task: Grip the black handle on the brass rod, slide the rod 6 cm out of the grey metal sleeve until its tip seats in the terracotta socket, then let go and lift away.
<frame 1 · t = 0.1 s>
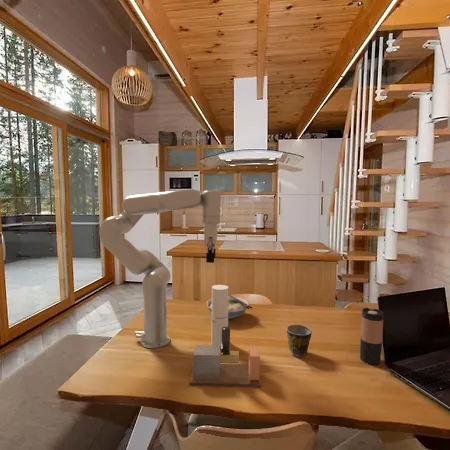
hand: (211, 260, 127), 37 cm above the table, tool pointing down, fingers open, 9 cm apart
ramen bowl: (227, 316, 160), on the table
cylindrical container: (219, 343, 130), on the table
slip tube: (217, 344, 105), point 12 cm above the table, slide at 0.0 cm
sleeve: (225, 375, 106), on the table
ceramic cup: (297, 355, 122), on the table
travel mug: (369, 360, 118), on the table
socket: (253, 376, 106), resting on sleeve
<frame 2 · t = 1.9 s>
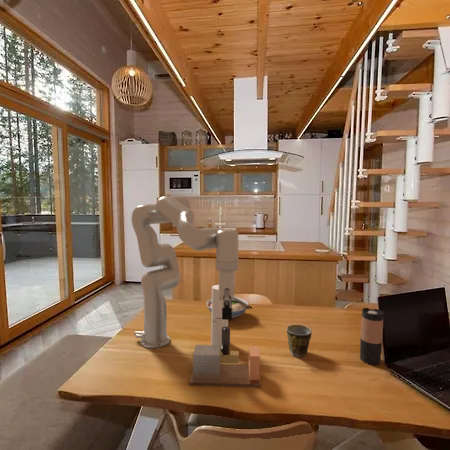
hand: (227, 313, 104), 23 cm above the table, tool pointing down, fingers open, 9 cm apart
nothing on the table moved.
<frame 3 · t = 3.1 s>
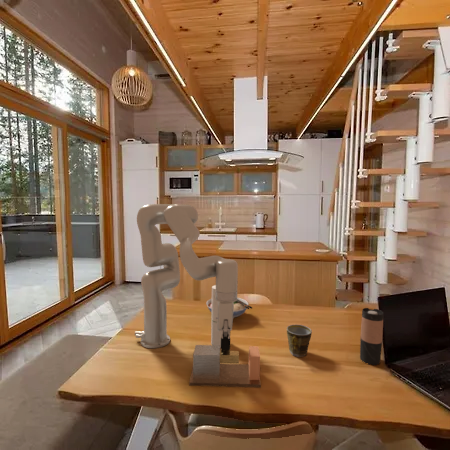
hand: (225, 342, 105), 12 cm above the table, tool pointing down, fingers open, 9 cm apart
nothing on the table moved.
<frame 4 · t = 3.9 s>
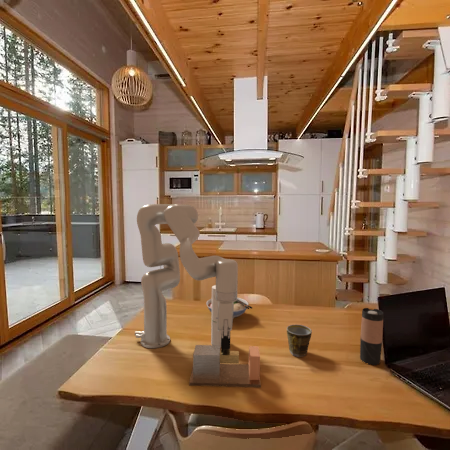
hand: (225, 345, 105), 11 cm above the table, tool pointing down, fingers closed on slip tube, 3 cm apart
slip tube: (217, 344, 105), point 12 cm above the table, slide at 0.0 cm, touching gripper
everything else where it was.
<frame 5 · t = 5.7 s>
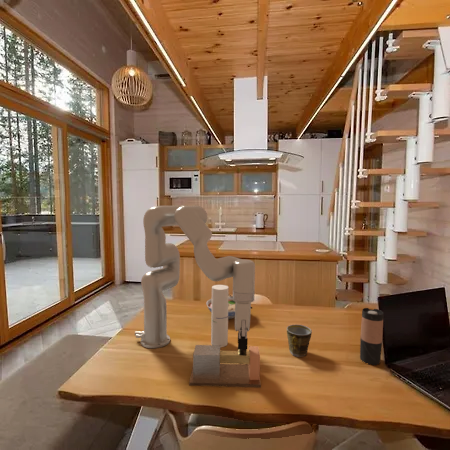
hand: (242, 345, 105), 11 cm above the table, tool pointing down, fingers closed on slip tube, 3 cm apart
slip tube: (233, 344, 105), point 12 cm above the table, slide at 5.9 cm, touching gripper
everything else where it was.
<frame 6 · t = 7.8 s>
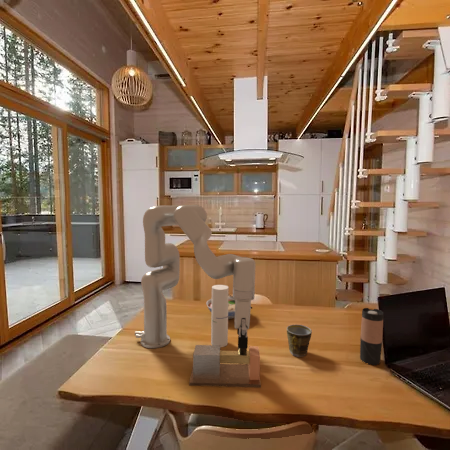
hand: (242, 340, 105), 13 cm above the table, tool pointing down, fingers open, 9 cm apart
slip tube: (234, 344, 105), point 12 cm above the table, slide at 6.0 cm
everything else where it was.
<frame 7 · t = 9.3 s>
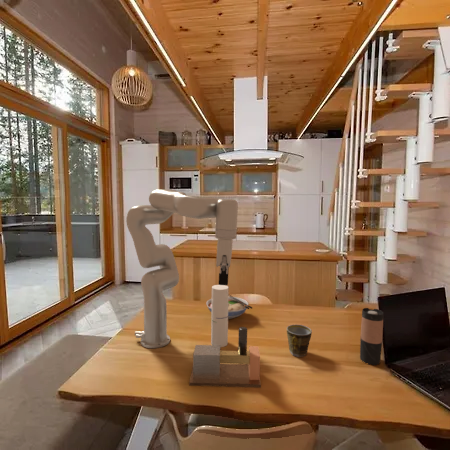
hand: (223, 280, 108), 33 cm above the table, tool pointing down, fingers open, 9 cm apart
nothing on the table moved.
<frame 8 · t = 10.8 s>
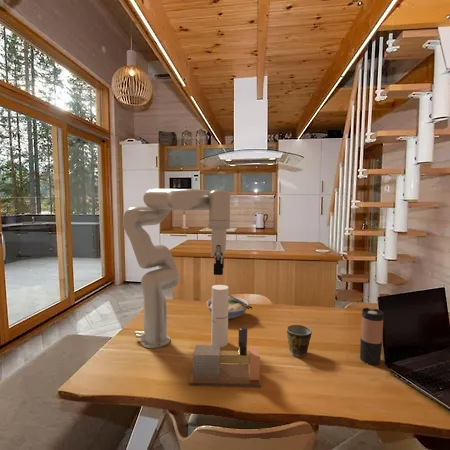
hand: (218, 271, 109), 36 cm above the table, tool pointing down, fingers open, 9 cm apart
nothing on the table moved.
at the end: slip tube slide at 6.0 cm; cylindrical container moved 0.2 cm from its start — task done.
